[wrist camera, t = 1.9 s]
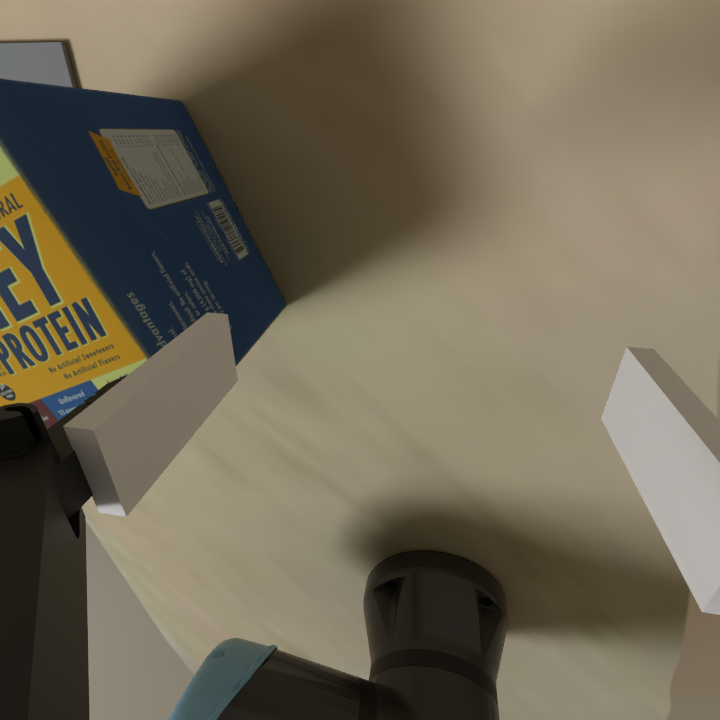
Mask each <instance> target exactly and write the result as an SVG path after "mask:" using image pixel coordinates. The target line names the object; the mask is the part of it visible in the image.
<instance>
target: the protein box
mask: <svg viewBox="0 0 720 720" xmlns="http://www.w3.org/2000/svg"><path fill="white" fill-rule="evenodd" d="M286 306H287V305H286V302H285V300H284V298H283V297H282V295H281V293H280V291H279V289H278V287H277V285H276V283H275V281H274V279H273V277H272V275H271V273H270V271H269V270H268V268H267V266H266V264H265V262H264V260H263V258H262V256H261V254H260V252H259V250H258V248H257V246H256V244H255V242H254V241H253V239H252V237H251V235H250V233H249V231H248V229H247V227H246V225H245V223H244V221H243V219H242V217H241V215H240V213H239V211H238V209H237V207H236V205H235V203H234V201H233V199H232V197H231V195H230V193H229V192H228V190H227V188H226V186H225V184H224V182H223V180H222V178H221V176H220V174H219V172H218V170H217V168H216V166H215V164H214V162H213V160H212V158H211V156H210V154H209V152H208V150H207V148H206V146H205V145H204V143H203V141H202V139H201V137H200V135H199V133H198V131H197V129H196V127H195V125H194V123H193V121H192V120H191V118H190V116H189V114H188V112H187V110H186V108H185V106H184V104H183V103H182V102H181V101H179V100H170V99H163V98H154V97H145V96H137V95H129V94H122V93H114V92H106V91H98V90H88V89H81V88H74V87H66V86H57V85H50V84H40V83H33V82H24V81H16V80H8V79H1V78H0V407H1V406H4V405H8V404H15V403H30V404H33V405H35V406H37V408H38V411H39V413H40V415H41V417H42V420H43V422H44V424H45V426H46V429H48V428H50V427H51V426H52V425H54V424H55V423H56V422H58V421H59V420H60V419H61V418H63V417H64V416H65V415H67V414H68V413H69V412H71V411H72V410H73V409H75V408H76V407H77V406H78V405H80V404H81V405H82V404H83V402H84V401H85V400H86V399H88V398H89V397H90V396H94V393H95V392H97V391H98V390H99V389H101V388H102V387H103V386H105V385H106V384H107V383H109V382H112V381H114V380H116V379H118V378H120V377H122V376H125V375H127V376H128V375H129V374H130V373H131V372H133V371H134V370H135V369H136V368H138V367H139V366H140V365H142V364H143V363H144V362H145V361H147V360H148V359H149V358H150V357H152V356H153V355H154V354H155V353H157V352H158V351H159V350H161V349H162V348H163V347H164V346H166V345H167V344H168V343H169V342H171V341H172V340H173V339H175V338H176V337H177V336H178V335H180V334H181V333H182V332H183V331H185V330H186V329H187V328H188V327H190V326H191V325H192V324H194V323H195V322H196V321H197V320H199V319H200V318H201V317H202V316H204V315H205V314H206V313H220V314H228V320H229V326H230V333H231V339H232V345H233V352H234V358H235V365H236V366H237V365H238V363H239V362H240V361H241V360H242V359H243V357H244V356H245V355H246V354H247V353H248V352H249V350H250V349H251V348H252V347H253V345H254V344H255V343H256V342H257V341H258V340H259V338H260V337H261V336H262V335H263V334H264V332H265V331H266V330H267V329H268V327H269V326H270V325H271V324H272V323H273V321H274V320H275V319H276V318H277V317H278V316H279V314H280V313H281V312H282V311H283V310H284V309H285V307H286Z"/></svg>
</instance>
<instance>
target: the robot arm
mask: <svg viewBox="0 0 720 720" xmlns="http://www.w3.org/2000/svg"><path fill="white" fill-rule="evenodd" d="M237 381H238V378H237V371H236V365H235V358H234V352H233V345H232V339H231V333H230V326H229V320H228V314H220V313H206V314H205V315H204V316H202V317H201V318H200V319H199V320H197V321H196V322H195V323H194V324H192V325H191V326H190V327H188V328H187V329H186V330H185V331H183V332H182V333H181V334H180V335H178V336H177V337H176V338H175V339H173V340H172V341H171V342H169V343H168V344H167V345H166V346H164V347H163V348H162V349H161V350H159V351H158V352H157V353H155V354H154V355H153V356H152V357H150V358H149V359H148V360H147V361H145V362H144V363H143V364H142V365H140V366H139V367H138V368H136V369H135V370H134V371H133V372H131V373H130V374H129V375H128V376H127V375H125V376H122V377H120V378H118V379H116V380H114V381H112V382H109V383H107V384H106V385H105V386H103V387H102V388H101V389H99V390H98V391H97V392H95V393H94V396H90V397H89V398H88V399H86V400H85V401H84V402H83V404H82V405H81V404H80V405H78V406H77V407H76V408H75V409H73V410H72V411H71V412H69V413H68V414H67V415H65V416H64V417H63V418H61V419H60V420H59V421H58V422H56V423H55V424H54V425H52V426H51V427H50V428H48V429H46V426H45V424H44V422H43V420H42V417H41V415H40V413H39V411H38V408H37V406H35V405H33V404H30V403H15V404H8V405H4V406H1V407H0V720H89V679H88V627H87V626H88V625H87V579H86V578H87V575H86V524H85V515H84V512H83V510H82V508H81V507H82V506H83V505H84V504H85V503H86V502H87V500H88V499H89V498H90V497H91V496H92V497H93V499H94V502H95V504H96V506H97V509H98V511H99V513H105V514H111V515H117V516H123V517H127V515H128V514H129V513H130V512H131V510H132V509H133V508H134V507H135V506H136V504H137V503H138V502H139V501H140V499H141V498H142V497H143V496H144V495H145V493H146V492H147V491H148V490H149V488H150V487H151V486H152V485H153V484H154V482H155V481H156V480H157V479H158V477H159V476H160V475H161V474H162V473H163V471H164V470H165V469H166V468H167V466H168V465H169V464H170V463H171V462H172V460H173V459H174V458H175V457H176V455H177V454H178V453H179V452H180V450H181V449H182V448H183V447H184V446H185V444H186V443H187V442H188V441H189V439H190V438H191V437H192V436H193V435H194V433H195V432H196V431H197V430H198V428H199V427H200V426H201V425H202V424H203V422H204V421H205V420H206V419H207V417H208V416H209V415H210V414H211V413H212V411H213V410H214V409H215V408H216V406H217V405H218V404H219V403H220V401H221V400H222V399H223V398H224V397H225V395H226V394H227V393H228V392H229V390H230V389H231V388H232V387H233V386H234V384H235V383H236V382H237ZM601 420H602V421H603V423H604V425H605V427H606V429H607V431H608V433H609V435H610V437H611V439H612V441H613V443H614V445H615V446H616V448H617V450H618V452H619V454H620V456H621V458H622V460H623V462H624V464H625V466H626V468H627V469H628V471H629V473H630V475H631V477H632V479H633V481H634V483H635V485H636V487H637V489H638V491H639V492H640V494H641V496H642V498H643V500H644V502H645V504H646V506H647V508H648V510H649V512H650V514H651V516H652V517H653V519H654V521H655V523H656V525H657V527H658V529H659V531H660V533H661V535H662V537H663V539H664V540H665V542H666V544H667V546H668V548H669V550H670V552H671V554H672V556H673V558H674V560H675V562H676V564H677V565H678V567H679V569H680V571H681V573H682V575H683V577H684V579H685V581H686V583H687V585H688V587H689V588H690V590H691V592H692V594H693V596H694V598H695V600H696V602H697V604H698V606H699V608H700V610H701V611H702V612H704V613H710V614H716V615H720V421H719V420H718V419H717V418H716V417H715V416H714V414H713V413H712V412H711V411H710V410H709V409H708V408H707V407H706V406H705V405H704V404H703V402H702V401H701V400H700V399H699V398H698V397H697V396H696V395H695V394H694V393H693V392H692V390H691V389H690V388H689V387H688V386H687V385H686V384H685V383H684V382H683V381H682V379H681V378H680V377H679V376H678V375H677V374H676V373H675V372H674V371H673V370H672V369H671V367H670V366H669V365H668V364H667V363H666V362H665V361H664V360H663V359H662V358H661V357H660V355H659V354H658V353H657V352H656V351H655V350H654V349H646V348H634V347H626V350H625V353H624V356H623V359H622V361H621V364H620V367H619V370H618V373H617V376H616V378H615V381H614V384H613V387H612V390H611V393H610V395H609V398H608V401H607V404H606V407H605V410H604V412H603V415H602V418H601ZM364 615H365V622H366V629H367V636H368V643H369V650H370V657H371V669H370V677H369V681H368V680H365V679H362V678H359V677H357V676H354V675H351V674H348V673H345V672H342V671H339V670H336V669H333V668H330V667H327V666H324V665H321V664H318V663H315V662H312V661H309V660H306V659H303V658H300V657H297V656H294V655H291V654H288V653H286V652H283V651H280V650H277V646H275V645H271V646H266V645H262V644H258V643H255V642H251V641H247V640H244V639H240V638H232V639H228V640H225V641H223V642H222V643H220V644H219V645H218V646H217V647H215V648H214V649H213V651H212V652H211V653H210V654H209V655H208V656H207V658H206V659H205V660H204V662H203V663H202V665H201V666H200V668H199V669H198V671H197V672H196V674H195V675H194V677H193V678H192V680H191V682H190V683H189V685H188V686H187V688H186V690H185V691H184V693H183V695H182V696H181V698H180V700H179V701H178V704H177V705H176V707H175V708H174V710H173V712H172V714H171V716H170V717H169V719H168V720H499V710H498V701H497V690H496V679H497V675H498V670H499V665H500V660H501V656H502V651H503V646H504V641H505V637H506V632H507V626H508V616H507V608H506V600H505V595H504V592H503V590H502V588H501V586H500V585H499V583H498V582H497V581H496V580H495V579H494V578H493V577H492V576H491V575H490V574H489V573H488V572H487V571H485V570H484V569H482V568H481V567H479V566H477V565H476V564H474V563H472V562H470V561H467V560H465V559H462V558H459V557H456V556H453V555H449V554H444V553H438V552H409V553H403V554H399V555H396V556H393V557H390V558H388V559H386V560H384V561H382V562H381V563H380V564H378V565H377V566H376V567H375V568H374V569H373V570H372V571H371V573H370V574H369V577H368V579H367V583H366V589H365V595H364Z"/></svg>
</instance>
